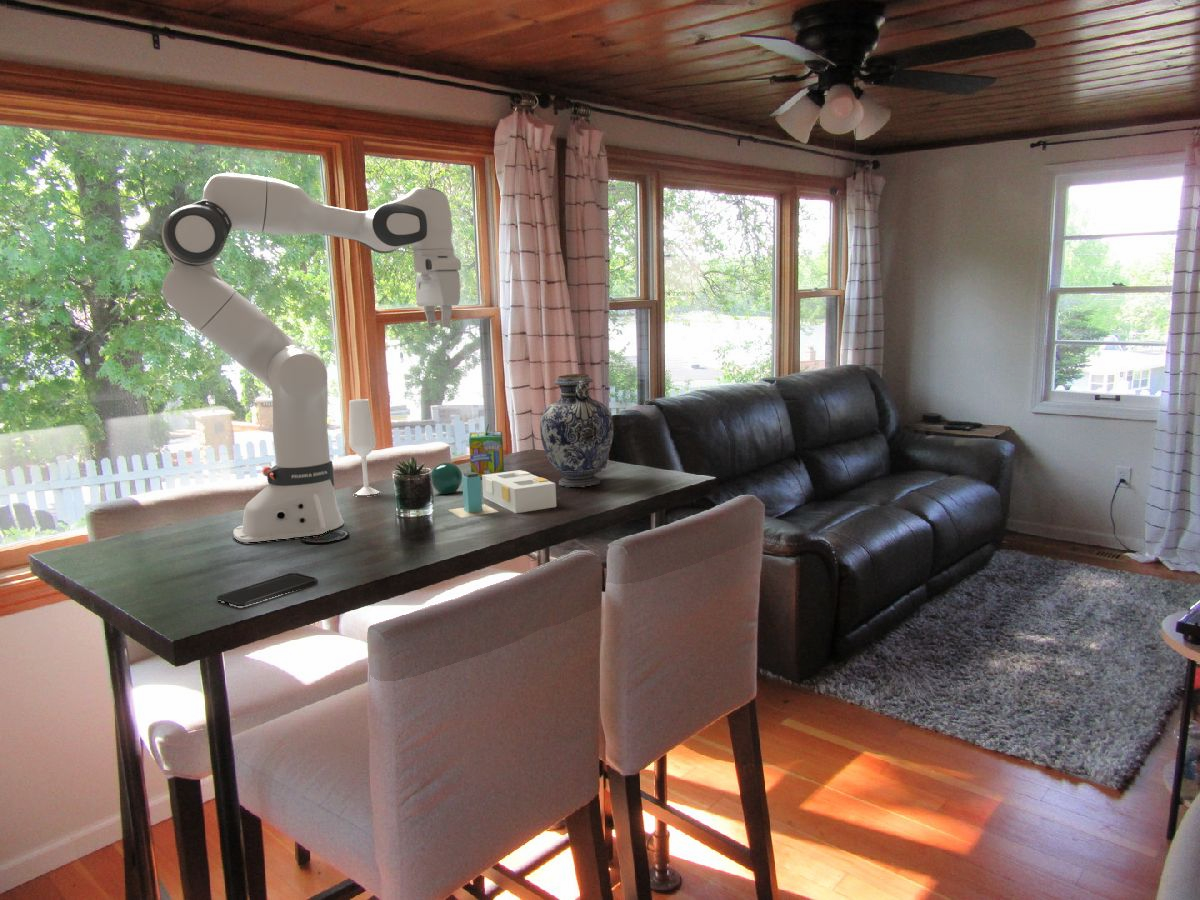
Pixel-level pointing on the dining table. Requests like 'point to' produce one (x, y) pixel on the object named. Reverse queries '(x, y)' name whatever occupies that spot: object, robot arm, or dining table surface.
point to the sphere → (446, 478)
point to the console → (519, 491)
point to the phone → (268, 589)
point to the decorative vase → (577, 432)
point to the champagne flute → (362, 437)
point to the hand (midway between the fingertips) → (438, 326)
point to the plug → (472, 492)
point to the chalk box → (486, 452)
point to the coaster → (462, 513)
